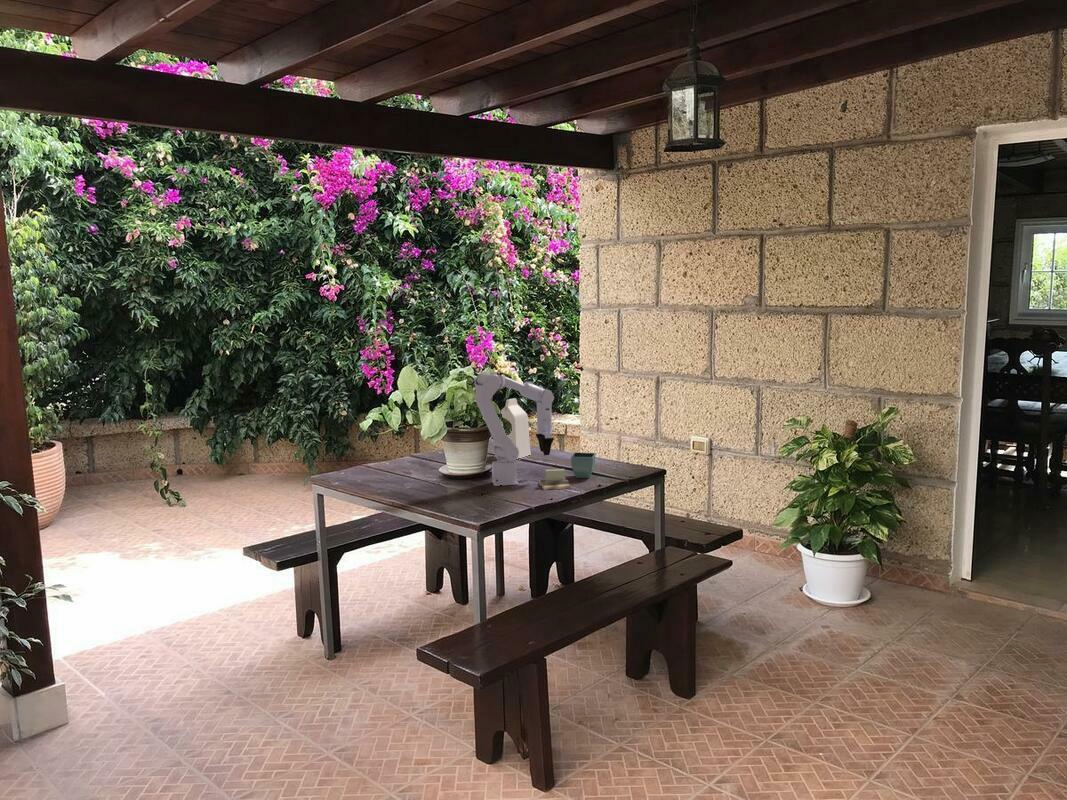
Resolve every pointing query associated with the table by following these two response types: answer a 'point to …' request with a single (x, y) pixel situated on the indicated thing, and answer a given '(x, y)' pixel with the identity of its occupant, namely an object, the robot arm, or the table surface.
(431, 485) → the table surface
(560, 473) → the pale green block
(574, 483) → the table surface
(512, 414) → the milk
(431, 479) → the table surface
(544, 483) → the track board
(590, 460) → the flower pot
